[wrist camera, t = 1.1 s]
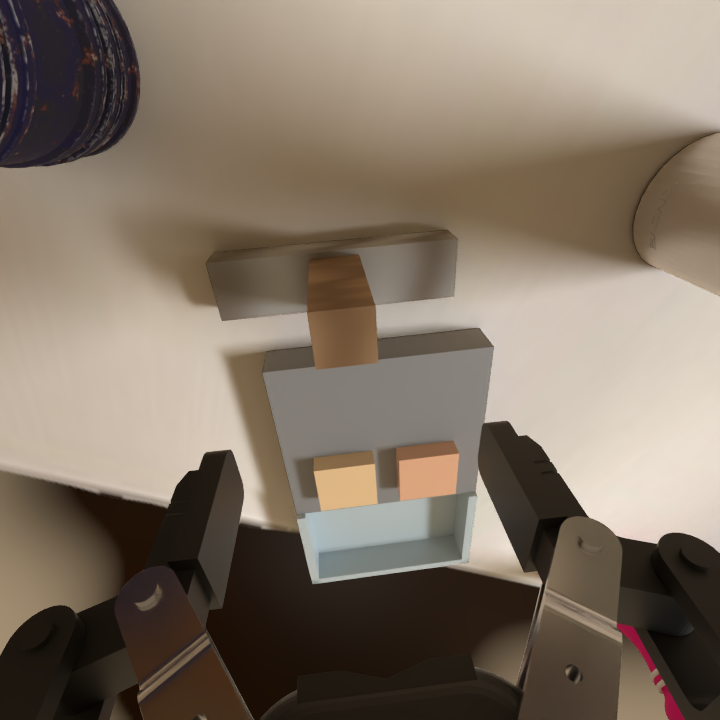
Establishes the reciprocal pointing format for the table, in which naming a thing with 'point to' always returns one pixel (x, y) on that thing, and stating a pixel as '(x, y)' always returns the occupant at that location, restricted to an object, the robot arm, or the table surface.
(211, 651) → the robot arm
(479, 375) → the board
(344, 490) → the tile
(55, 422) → the table surface
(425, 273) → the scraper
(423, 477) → the tile
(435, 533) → the tray
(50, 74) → the storage jar
